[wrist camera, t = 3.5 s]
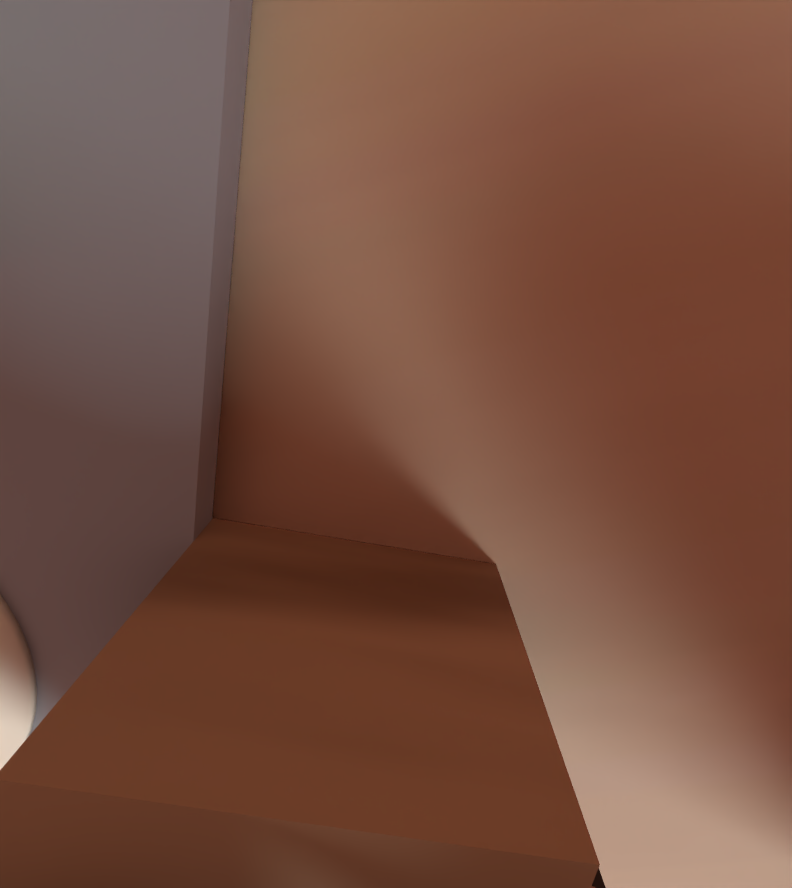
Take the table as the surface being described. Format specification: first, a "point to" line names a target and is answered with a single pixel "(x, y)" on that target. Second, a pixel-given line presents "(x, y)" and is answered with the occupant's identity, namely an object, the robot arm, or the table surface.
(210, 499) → the build board
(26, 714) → the cream disc
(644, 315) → the table surface
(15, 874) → the walnut cube
